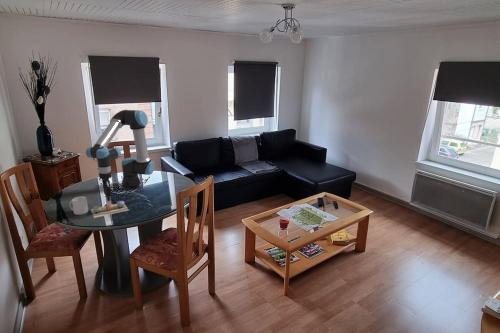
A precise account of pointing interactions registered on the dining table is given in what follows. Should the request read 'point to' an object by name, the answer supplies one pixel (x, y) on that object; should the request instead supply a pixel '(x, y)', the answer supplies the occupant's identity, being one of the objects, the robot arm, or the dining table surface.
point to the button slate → (120, 204)
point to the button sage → (97, 209)
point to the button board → (106, 212)
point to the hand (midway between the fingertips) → (108, 204)
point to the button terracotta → (109, 207)
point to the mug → (79, 205)
